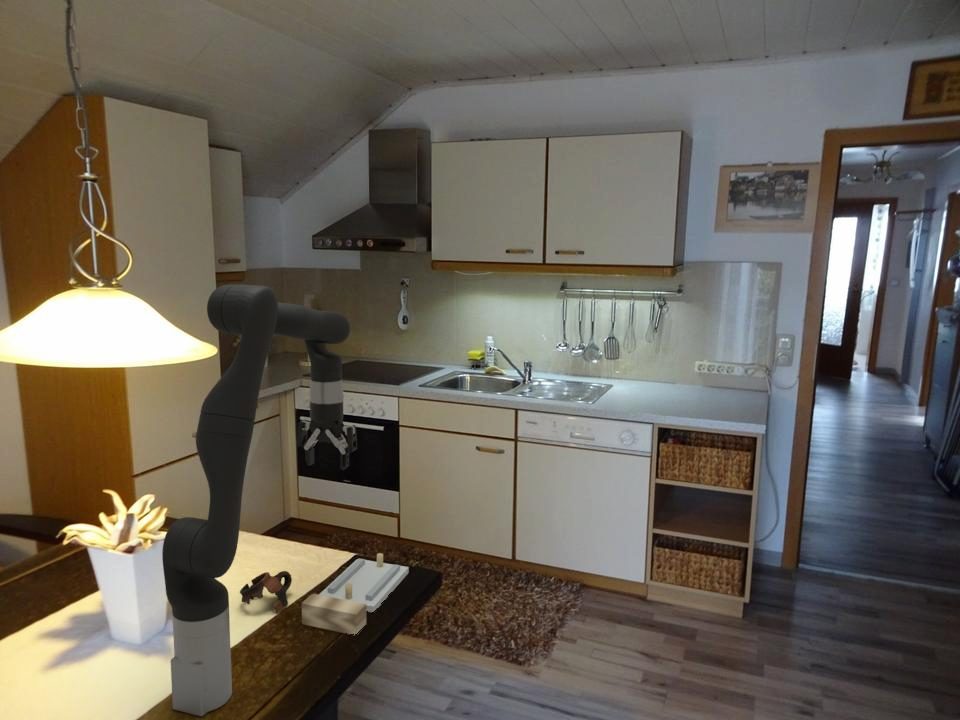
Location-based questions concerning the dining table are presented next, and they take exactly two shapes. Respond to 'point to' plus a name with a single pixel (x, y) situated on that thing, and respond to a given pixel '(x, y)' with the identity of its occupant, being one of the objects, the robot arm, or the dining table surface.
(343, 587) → the key cradle
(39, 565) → the dining table surface
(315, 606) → the beige wooden block
